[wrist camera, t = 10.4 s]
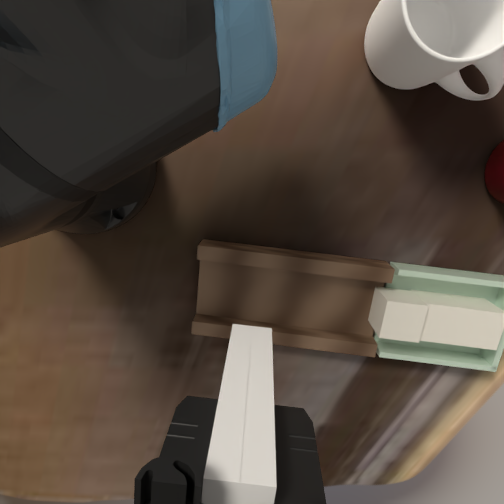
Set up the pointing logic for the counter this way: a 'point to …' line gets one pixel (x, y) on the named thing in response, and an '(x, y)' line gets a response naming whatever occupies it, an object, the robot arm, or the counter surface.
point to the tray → (448, 282)
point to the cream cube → (480, 323)
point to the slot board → (289, 295)
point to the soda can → (496, 173)
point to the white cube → (441, 318)
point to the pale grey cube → (397, 314)
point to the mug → (437, 43)
